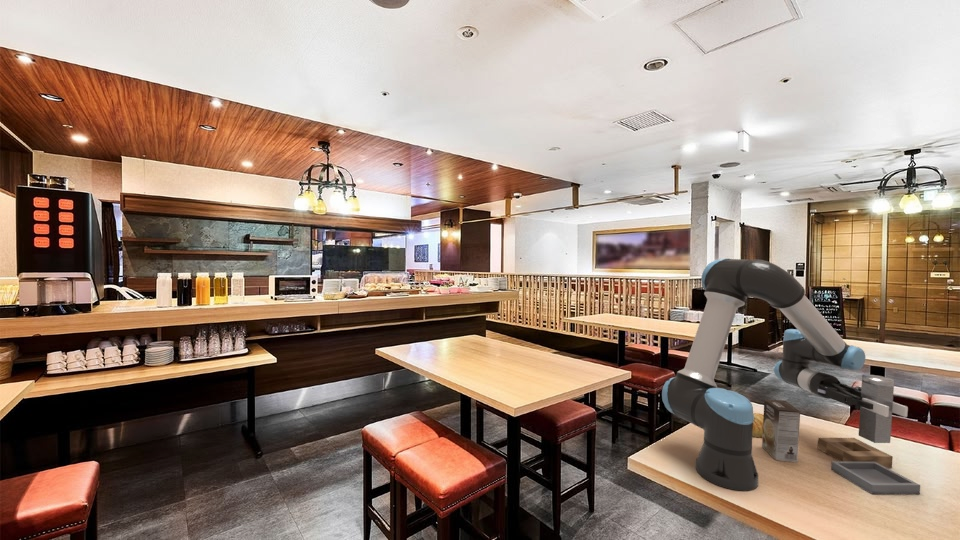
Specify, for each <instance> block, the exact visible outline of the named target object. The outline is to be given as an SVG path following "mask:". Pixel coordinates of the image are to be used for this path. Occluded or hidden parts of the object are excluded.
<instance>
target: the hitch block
mask: <svg viewBox="0 0 960 540" xmlns="http://www.w3.org/2000/svg"><path fill="white" fill-rule="evenodd" d="M817 438H818V439H817V449H818V450H820V451H822V452H823V453H825V454H827V455H830V456H831V457H833V458H835V459H836V460H838V461H875V462H877V463H879V464H880V465H882V466H884V467H886V468H888V469H892V468H893V459H894V458H893V455H891V454H888V453H887V452H884V451H882V450H880V449H878V448H876V447H874V446H872V445H870V444H868V443H866V442H864V441H862V440H859V439H857V438H856V437H817Z"/></svg>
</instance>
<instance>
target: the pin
mask: <svg viewBox="0 0 960 540" xmlns="http://www.w3.org/2000/svg"><path fill="white" fill-rule="evenodd" d="M860 387H861V400H862V398H866V399H869V400H872V401H874V402H877V403H880V404H883V405H885V406H888V407H889V416H888V417H885V416H883V415H880V414H877V413H875V412H872V411H870V410H867V409H865V408H862V406H860V409H859V422H858V436H859V437H861V438H863V439H865V440H867V441H869V442H871V443H874V444H890V443H891V439H892V438H891V436H892V435H891V434H892V424H893V423H892V420H893V412H892V406H893V402H894V391H895V390H894V389H895V380H894V379H892V378H890V377H886V376H882V375H875V374H861V386H860Z"/></svg>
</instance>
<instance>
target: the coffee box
mask: <svg viewBox="0 0 960 540" xmlns="http://www.w3.org/2000/svg"><path fill="white" fill-rule="evenodd" d="M763 415H764V416H763V437H762V439H761V440H762V445H761V446H762V448H763V449H764V450H766V452H767V453H768V454H770V456H771V457H772V458H773V459H774V460H775V461H782V462H783V461H784V462H792V463H798V460H799V459H798V457H799V439H800V438H799V437H800V424H801V411H800V409H798V408H796V407H794V406H793V405H792V404H790V403H789V402H787V400H778V399H764V401H763Z"/></svg>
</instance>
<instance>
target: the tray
mask: <svg viewBox="0 0 960 540" xmlns="http://www.w3.org/2000/svg"><path fill="white" fill-rule="evenodd" d="M830 464H831V465H830V466H831V468H830V470H831V471H833V472H834V473H835V474H837V475H839V476H841V477H843V478H845V479H846V480H848V481H849V482H851V483H852V484H854V485H856V486H858V487H859V488H860V489H863V490H864V491H865V492H867V493H869V494H871V495H920V494H921V484H919V483H917V482H915V481H913V480H911V479H909V478H908V477H905V476H904V475H901V474H900V473H898V472H896V471H894V470H892V469H891V468H886V467H884V466H882V465H880V464H879V463H877V462H875V461H840V460H838V461H834V460H833V461H832V460H831V463H830Z"/></svg>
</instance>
